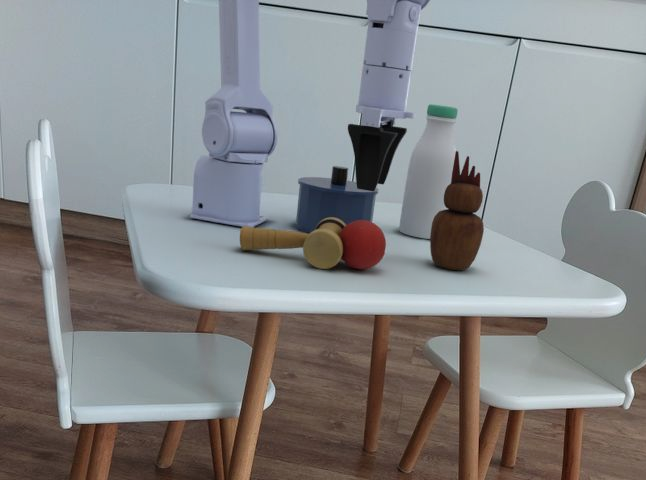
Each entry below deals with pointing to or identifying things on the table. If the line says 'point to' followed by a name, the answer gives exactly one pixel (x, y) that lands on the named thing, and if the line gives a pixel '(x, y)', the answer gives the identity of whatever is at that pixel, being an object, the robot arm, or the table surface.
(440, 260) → the wooden figurine
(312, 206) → the pot
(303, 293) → the table surface
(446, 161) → the milk bottle
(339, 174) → the pot lid
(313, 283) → the table surface
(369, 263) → the kendama
